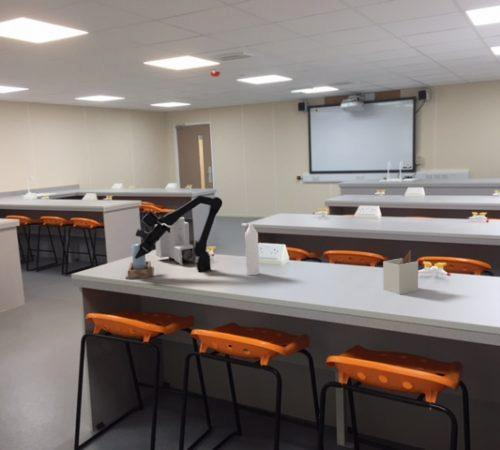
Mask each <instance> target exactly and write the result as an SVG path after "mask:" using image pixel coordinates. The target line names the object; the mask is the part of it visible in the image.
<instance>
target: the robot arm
mask: <svg viewBox="0 0 500 450" xmlns="http://www.w3.org/2000/svg"><path fill="white" fill-rule="evenodd" d="M200 204H203V205H207V206H209V207H208V214H207V216H206V220H205V223H204V225H203V229H202V230H201V231H202V232H201V234H200V236H199V238H198V240H196V239H195V241H194V245H193V249H194V253H195V255H196V256H197V257H198V261H197V263H196V269H197V271H198V272H199V273H201V272H212V268H211V255H210V254H209V252H208V251H207V244H208V239H209V235H210V234H211V230H212V228H213V224H214V222H215V218H216V215H217V214H218V213H219V211H220V209H221V207H222V206H223V201H222V199H221V198H220V197H218V196H213V197H210V196H204V195H201V194H200V195H199V194H198V195H197V196H195V197H194V198H193V199H191V200H190V201H188V202H187V203H185V204H184V205H182V206H180V207H179V208H178V209H175V210H172V211H170V212H168V213H166V214H165V215H163V216H159V217H158V216H157V215H155V214H154V212H153V211H152V210H149V211H148V212H147V213H146V214H145V215H144V216H143V217H142V218H141V220H140V221H141V222H142V223H143V224H145V226H146V227H148V228H153V229H152V230H150V231H145V230H143V229H140V228H137V229H136V232H135V237H139V238H141V240H140V243H139V244H140V249H139V251H138V253H137V254H136V256H135V259H137V258H139V257H141V256H143V255H145V256H146V255H148V254H149V253H151V252H152V251H153V247H154V246H155V245H156V242H157V241H159V239H160V238H161V237H162V235H163V234H164V233H165V232H166V231H168V232H169V233H170V227H167V226H166V225H168V226H171V225H173V224H174V223H175V222H176V221H177V220H178V219H179V218H180V217H183V216H184V215H185V214H187V213H188V212H190V211H192V210H193V209H195V208H196V207H197V206H199V205H200ZM163 223H165V224H166V225H165V224H163ZM156 224H157V225H156ZM162 224H163V225H162ZM155 225H156V226H155Z"/></svg>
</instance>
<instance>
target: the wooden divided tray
mask: <svg viewBox="0 0 500 450" xmlns="http://www.w3.org/2000/svg"><path fill="white" fill-rule="evenodd" d="M126 272H127V273H126V276H125V279H126V280H128V279H130V280H131V279H143V278H153V274H154V266H152V265H151V260H148V261H146V269H140V270H133V261H131V262H130V264H129V266H128V269H127V271H126Z"/></svg>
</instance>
